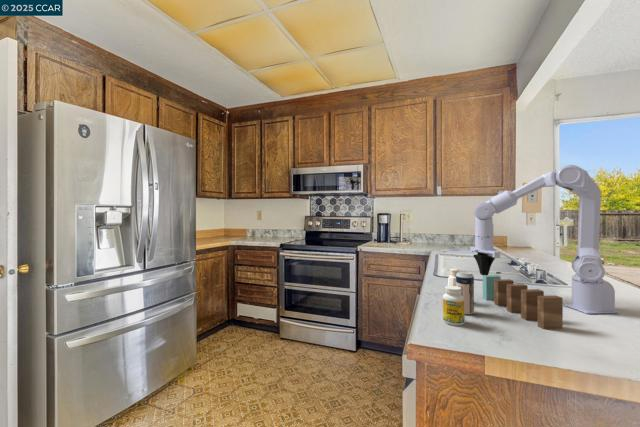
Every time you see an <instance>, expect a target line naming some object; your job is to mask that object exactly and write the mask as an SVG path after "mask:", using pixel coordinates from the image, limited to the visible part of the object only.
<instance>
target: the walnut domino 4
mask: <svg viewBox="0 0 640 427" xmlns="http://www.w3.org/2000/svg"><path fill="white" fill-rule="evenodd" d="M563 300H564V299H563V297H561V296H558V295H555V294H554V295H544V296H538V320H537V327H539V328H540V329H542V330H563V324H564V323H563V321H564V320H563V318H564V317H563V315H564V314H563V308H564V307H563V305H564V304H563V303H564V302H563Z"/></svg>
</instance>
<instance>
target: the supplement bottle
mask: <svg viewBox="0 0 640 427" xmlns="http://www.w3.org/2000/svg"><path fill="white" fill-rule="evenodd" d="M444 291H445V293H444V294H443V295H442V320H443V322H444V323H445V324H447V325H451V326H455V327H457V326H458V327H459V326H464V325H465V321H466V320H465V315H464V297H463V296H462V295H460V294H461V288H460V287H457V286H448V285H446V286H445V287H444Z"/></svg>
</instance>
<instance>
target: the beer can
mask: <svg viewBox="0 0 640 427" xmlns="http://www.w3.org/2000/svg"><path fill="white" fill-rule="evenodd" d="M456 286H457V287H460V288H461V294H460V295H462V296H463V297H464V316H465V315H466V316H470V315H472V314H475V276H474V274H473V273H472V272H471V271H470V272H469V271H462V270H461V271H460V270H459V272H457V274H456Z"/></svg>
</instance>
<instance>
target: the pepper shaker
mask: <svg viewBox="0 0 640 427" xmlns="http://www.w3.org/2000/svg"><path fill="white" fill-rule="evenodd" d="M449 271H450V273H449V274H450V275H449V276H448V278H447V279H448V280H447V286H456V274H457V272H459V271H460V269H458V268H450V269H449Z"/></svg>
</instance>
